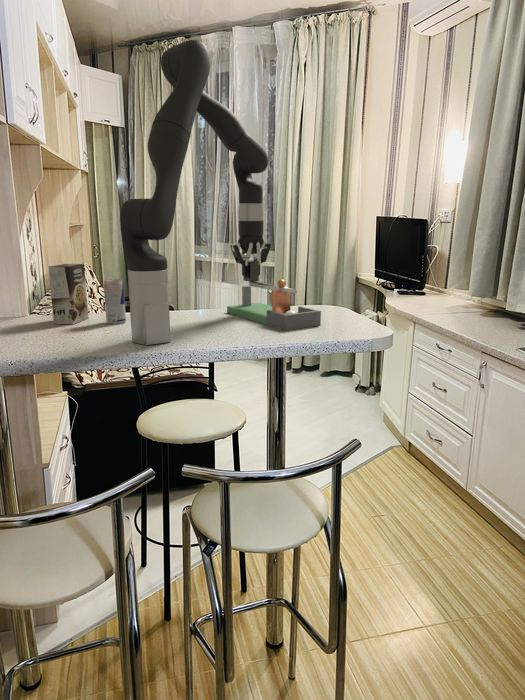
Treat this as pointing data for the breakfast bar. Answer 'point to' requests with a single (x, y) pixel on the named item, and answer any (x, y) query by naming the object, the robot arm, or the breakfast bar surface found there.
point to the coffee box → (68, 293)
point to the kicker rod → (279, 293)
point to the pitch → (274, 314)
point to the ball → (290, 312)
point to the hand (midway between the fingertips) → (251, 277)
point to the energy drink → (114, 301)
